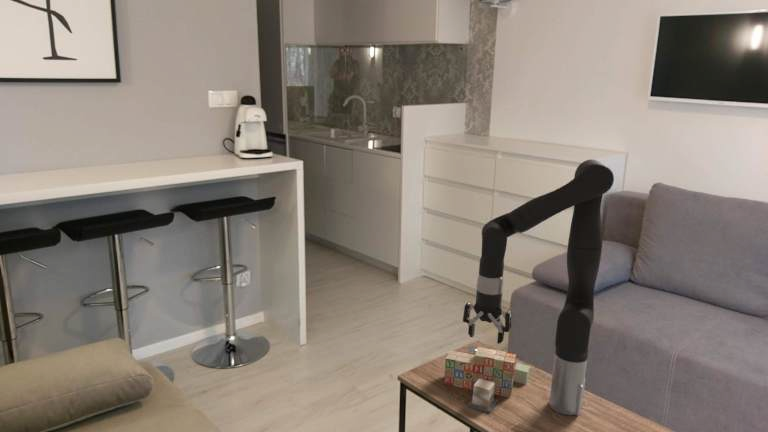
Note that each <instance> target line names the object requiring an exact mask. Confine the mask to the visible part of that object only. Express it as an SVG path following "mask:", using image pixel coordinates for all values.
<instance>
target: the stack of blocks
mask: <svg viewBox="0 0 768 432" xmlns="http://www.w3.org/2000/svg"><path fill="white" fill-rule="evenodd" d="M477 347H478V346H477ZM516 358H517V354H516V353H510V352H507V351H504V350H503V351H502V350H497V349H490V348H485V347H478V348H477V350H476V354H475V355H471V354H468V353H466V352H462V351H455V350H449V351H448V352H447V355H446V358H445V364H444V366H445V369H444V378H443V379H444V380H443V384H445V385H449V386H453V387H457V388H463V389H466V390H471V391H473V387H474V384H475V383H476V382H477V381H478V379H479V378H480V379H484V380H487V381H491V382H494V383H495V388H494V396H498V397H499V396H500V397H504V398H508V399H510V398H511V395H512V391H513V384H514V381H513V379H514V371H515V366H516Z"/></svg>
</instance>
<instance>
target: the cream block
mask: <svg viewBox="0 0 768 432" xmlns="http://www.w3.org/2000/svg"><path fill="white" fill-rule="evenodd" d="M494 388H495V383H494V382H491V381H487V380H484V379H480V378H479V379H478V381H477V382H476V383H475V384H474V387H473V390H472V398H473V399H472V398H471V399H472V403H473V404H476V405H479V406H482V407H486V408H488V407H489V406H490V405H491V403H492V402H493V399H495V397H494V396H495V395H494Z"/></svg>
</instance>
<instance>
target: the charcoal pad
mask: <svg viewBox="0 0 768 432" xmlns="http://www.w3.org/2000/svg"><path fill="white" fill-rule="evenodd" d="M472 399H473V397H472V398H471V399H470V400H469V402H468V403H467V407H470V408H472V409H476V410H479V411H482V412H485V413H487V414H491V412H492V411H493V409H494V408H495V406H496V405H497V403H498V399H496V398H494V399H493V402H492V403H491V405H490V406H489V407H488V408H486V407H482V406H479V405H476V404H473V403H472Z"/></svg>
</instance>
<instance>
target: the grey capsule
mask: <svg viewBox="0 0 768 432" xmlns="http://www.w3.org/2000/svg"><path fill="white" fill-rule="evenodd" d="M477 348H478V346H474V345H472V346H469V347H468V353H467V354H471V355H475V354H476V350H477Z"/></svg>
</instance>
